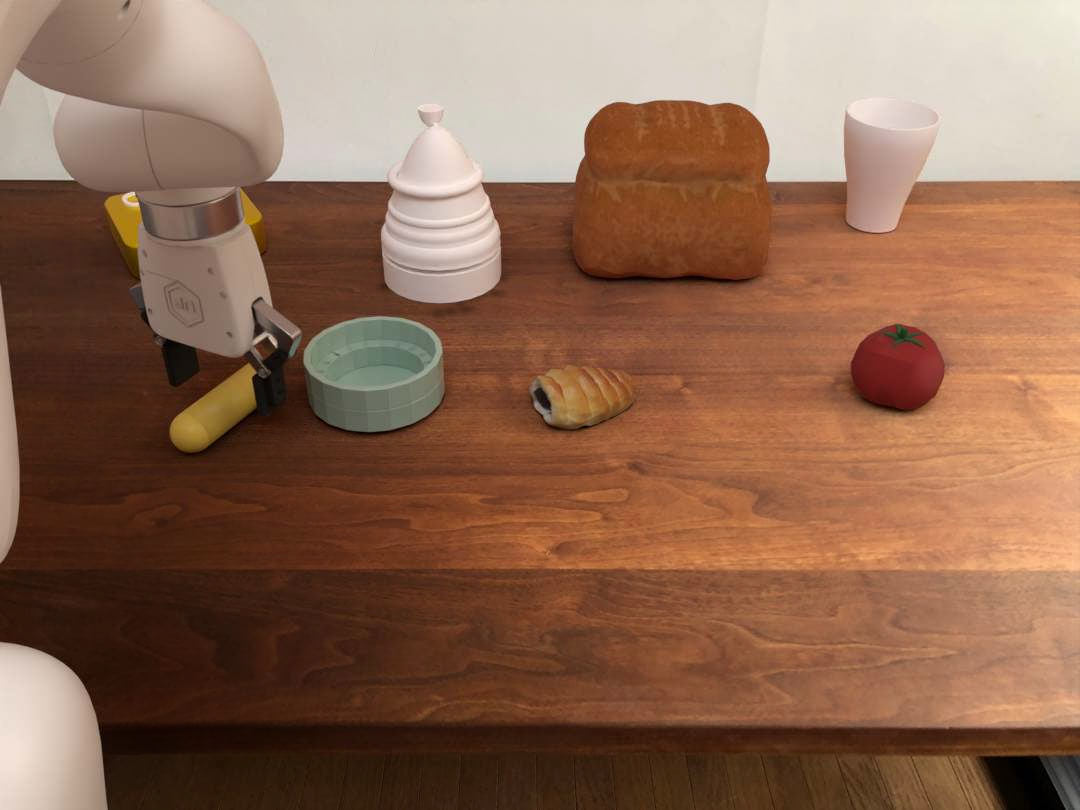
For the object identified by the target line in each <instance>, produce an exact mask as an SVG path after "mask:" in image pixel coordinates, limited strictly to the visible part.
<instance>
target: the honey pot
mask: <svg viewBox="0 0 1080 810" xmlns="http://www.w3.org/2000/svg"><path fill="white" fill-rule="evenodd" d="M417 111H418V115H419V118H420V120H421V122H422V123H423V124H424V125H425V126H427V128H424V129H423V130H422V131H421V132H420V133H419V134H418V135H417V136H416V138H415V139H414V140H413V142H412V144H411V146H410V147H409V149H408V151H407V153H406V155H405V157H404V159H402V160H401V161H398V162H396V163H395V164H393V165H392V166H391V167H390V169H389V170H388V172H387V174H386V178H387V179H386V180H387V183H388V185H389V186H390V187H391V189H392V190H393V191H392V194H391V197H390V198H389V200H388V202H387V211H386V213H385V217H384V218H385V219H384V220H385V221H384V223H383V225H382V227H381V231H380V242H381V252H382V253H381V254H382V267H383V277H384V282H385V284H386V286H387V288H388V289H389V290H391V291H392V292H393V293H394V294H396V295H397V296H400V297H402V298H405V299H406V300H407V299H408V300H411V301H415V302H421V303H428V304H449V303H459V302H462V301H463V302H464V301H467V300H472V299H474V298H477V297H480V296H483V295H484V294H486V293H488V292H489V291H491V290H493V289H494V288H495V287H496V285H497V284H498V283H499V282H500V280H501V276H502V247H501V243H502V242H501V234H502V233H501V230H500V225H499V222H498V221H497V219H496V218H495V215H494V211H493V208H492V207H491V201H490V197H489V195H488V194H487V193H486V191H485V189H484V187H483V184H482V183H483V180H484V177H485V174H484V169H483V167H481V165H480V164H478V162H476V161H474V160H472V159H471V158H470V156H469V155H468V153H467V151H466V150H465V148H464V146H463V145H462V143H461V142H460V141H459V139H458V138H457V137H456V136H455V135H454V134H453V133H452V132H451V131H449V130H448V129H447V128H445V127H443V126H441V125H440V122H441V121H442V119H443V116H444V106H443V105H441V104H438V103H425V104H421V105H419V106H418V107H417Z"/></svg>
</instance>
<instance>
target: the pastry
mask: <svg viewBox="0 0 1080 810" xmlns="http://www.w3.org/2000/svg"><path fill="white" fill-rule="evenodd" d="M529 395H530V397H531V398H532V402H533V403H532V404H533V407H534V408H535V410H536V411H537V412H538V413H539V414H540V415H542V416H543V420H544V421H545V422H546V424H548V425H550V426H553V427H556V428H560V429H563V430H578V429H579V428H581V427H584V426H588V427H592V426H594V425H597V424H599V423H601V422H602V421H608V420H609V419H610V418H614V417H615V416H618V415H619V414H621V413H623V412H625V411H626V410H627V409H628V408H629V407H630V406H631V404H633V403H634V401H635V399H636V396H637V393H636V386H635V384H634V382H633V380H632V378H631V375H630V374H629V373H627V372H624V371H621V370H618V369H616V368H615V369H613V368H604V367H603V366H597V367H591V366H589V365H588V364H587V365H583V366H580V367H578V366H575V365H573V364H568V365H567V366H565V367H564V368H563V369H562V368H561V369H560V368H555V367H553V368H550V369H549V370H547V372H546V373H545V374H544V375H541V374H540V375H537V376H536V378H535V380H534V381H533V382H532V383H531V386H530V387H529Z"/></svg>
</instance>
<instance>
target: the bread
mask: <svg viewBox="0 0 1080 810" xmlns="http://www.w3.org/2000/svg"><path fill="white" fill-rule="evenodd" d="M768 139H769V138H768V136H767V133H766V131H765V128H764V127H763V124H762V122H760V119H758V118H757V116H755V115H754V114H753V113H752V112H751V110H748V109H747V108H746V107H744V106H741V105H739V104H736V103H733V102H720V103H714V104H707V103H704V102H701V101H695V100H685V99H684V100H683V99H679V100H678V99H677V100H676V99H675V100H674V99H673V100H672V99H658V100H657V99H656V100H651V101H646V102H642V103H631V102H627V101H615V102H612V103H609V104H605V106H603V107H602V108H600V109H599V110H598V111H597V112H596V113H595V114H594V115H593V116H592V117H591V119H589V122H588V123H587V125H586V128H585V131H584V135H583V144H584V145H583V149H584V150H583V151H584V156H583V157H582V160H580V162H579V165H578V168H577V172H576V175H575V183H574V192H573V210H572V211H573V212H572V249H573V255H574V260H575V262H576V263H577V266H578V267H579V268H580V269H581V270H582V271H583V272H584V273H586V274H588V275H590V276H593V277H599V278H607V279H608V278H609V279H625V278H630V277H636V276H637V277H645V278H656V279H657V278H659V279H669V278H671V279H672V278H681V277H689V276H690V277H691V276H693V277H705V278H709V279H727V280H735V281H737V280H745V279H746V280H747V279H752V278H756V277H757V276H759V275H761V274H762V272H763V271H764V268H765V265H766V263H767V261H768V258H769V250H770V243H771V236H772V230H773V229H772V226H773V205H772V204H773V203H772V197H771V194H770V193H771V192H770V189H769V184H768V180H767V176H766V175H767V172H768V169H769V166H770V162H771V155H770V153H771V152H770V143H769V140H768Z"/></svg>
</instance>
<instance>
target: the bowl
mask: <svg viewBox="0 0 1080 810" xmlns="http://www.w3.org/2000/svg"><path fill="white" fill-rule="evenodd" d="M302 365H303V371H304V377H305V378H304V379H305V383H306V385H305V386H306V392H307V397H308V404H309V406H310V407H311V409H312V411H313V412H314V415H316V416H317V417H318V418H320V419H321V420H322V421H324V422H325V423H326V424H328V425H330V426H333V427H337V428H339V429H342V430H345V431H353V432H363V433H376V432H386V431H393V430H396V429H399V428H403V427H406V426H410V425H413V424H415V423H416V422H418V421H421V420H423V419H424V418H426V417H428V416H429V415H430V414H431V413H432V412H433V411H435V409H437V407H438V406H439V405H440V404H441V402H442V399H443V397H444V395H445V392H446V389H445V387H446V385H445V371H444V369H445V367H444V352H443V345H442V340H441V339H440V337H439V336H438V335H437V334H436V333H435V331H433V330H432V329H431V328H429V327H427V326H425V325H424V324H422V323H420V322H418V321H414V320H412V319H407V318H404V317H396V316H386V315H385V316H384V315H378V316H377V315H376V316H365V317H357V318H354V319H349V320H345V321H341V322H339V323H336V324H334V325H332V326H330V327H327V328H325V329H323V330H321V331H320V332H319V333H318V334H317V335H315V336H314V337H312V338H311V339H310V341H309V343H308V344H307V345H306V347H305V349H304V350H303V362H302Z"/></svg>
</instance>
